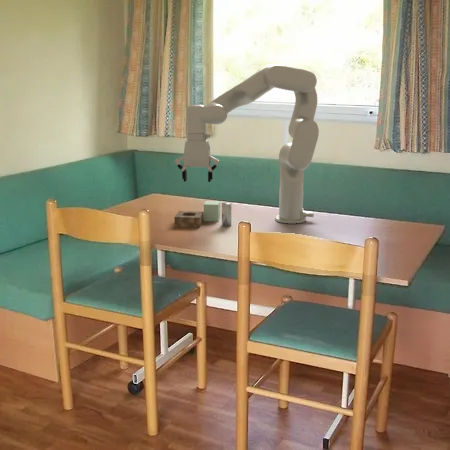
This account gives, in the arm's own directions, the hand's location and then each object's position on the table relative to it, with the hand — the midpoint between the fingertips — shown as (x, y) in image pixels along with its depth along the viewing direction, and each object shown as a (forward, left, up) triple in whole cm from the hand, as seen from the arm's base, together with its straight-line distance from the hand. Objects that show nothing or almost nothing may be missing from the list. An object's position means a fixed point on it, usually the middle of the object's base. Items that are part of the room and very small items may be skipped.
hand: (197, 181), depth 249 cm
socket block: (+3, 0, -17) cm, 18 cm away
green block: (-5, -9, -18) cm, 20 cm away
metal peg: (-12, 0, -17) cm, 21 cm away
